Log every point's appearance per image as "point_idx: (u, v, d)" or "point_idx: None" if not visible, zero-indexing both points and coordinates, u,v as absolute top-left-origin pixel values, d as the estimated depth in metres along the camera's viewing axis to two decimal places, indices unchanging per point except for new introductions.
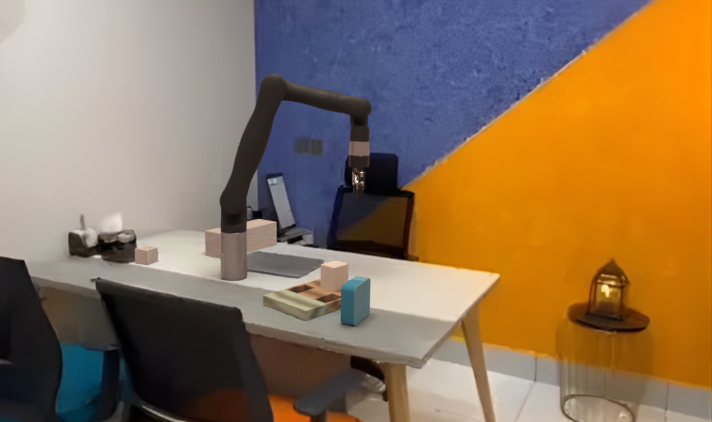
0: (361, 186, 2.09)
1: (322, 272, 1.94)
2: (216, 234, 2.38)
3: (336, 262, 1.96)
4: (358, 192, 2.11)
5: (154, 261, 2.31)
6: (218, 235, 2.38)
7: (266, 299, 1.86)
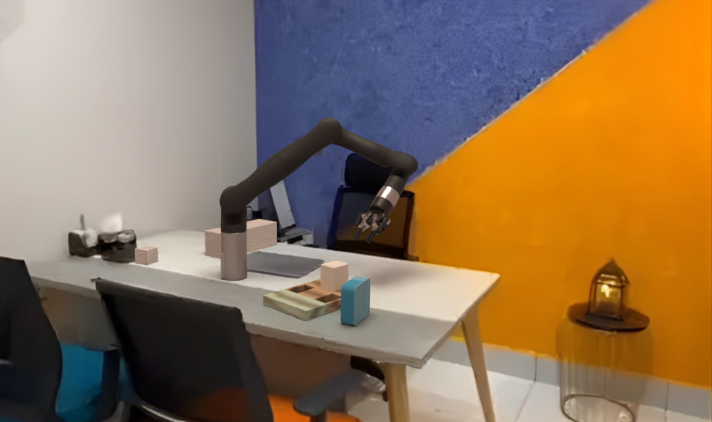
0: (380, 230, 2.01)
1: (322, 272, 1.94)
2: (216, 234, 2.38)
3: (336, 262, 1.96)
4: (371, 234, 2.01)
5: (154, 261, 2.31)
6: (218, 235, 2.38)
7: (266, 299, 1.86)
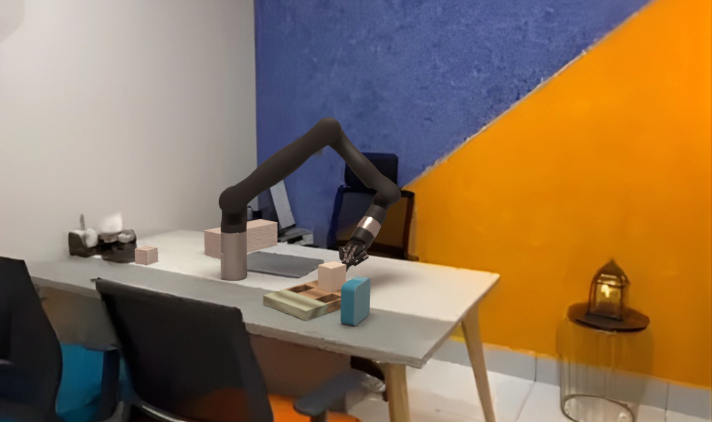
0: (355, 262, 1.97)
1: (319, 273, 1.93)
2: (214, 234, 2.39)
3: (333, 263, 1.95)
4: (346, 266, 1.97)
5: (154, 261, 2.31)
6: (216, 235, 2.38)
7: (266, 299, 1.86)
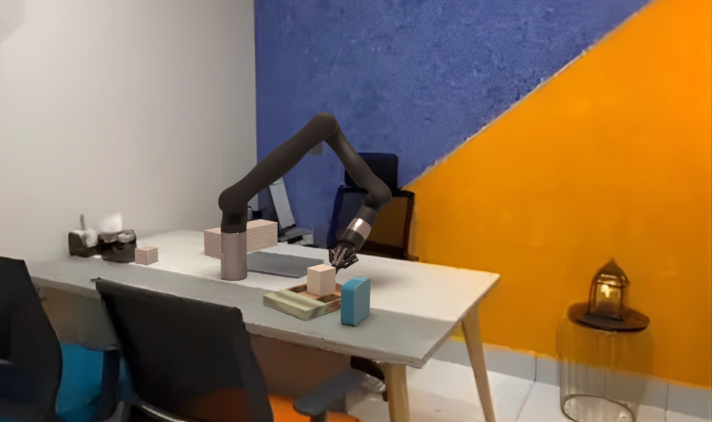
0: (344, 265, 1.94)
1: (308, 276, 1.89)
2: (214, 234, 2.39)
3: (323, 266, 1.92)
4: None
5: (154, 261, 2.31)
6: (216, 235, 2.38)
7: (266, 299, 1.86)
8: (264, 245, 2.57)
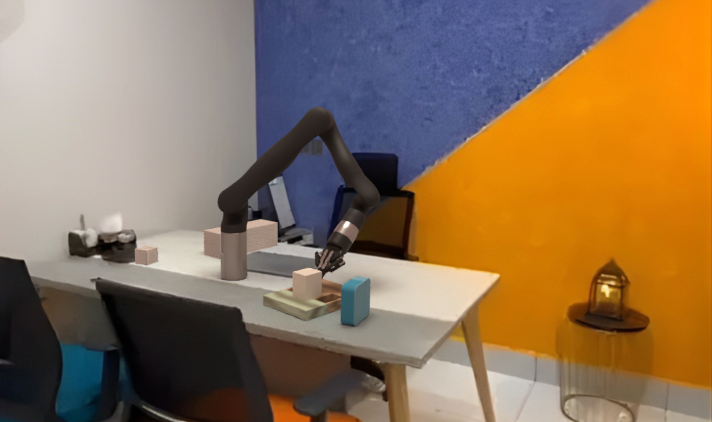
0: (331, 269, 1.89)
1: (294, 280, 1.85)
2: (214, 234, 2.39)
3: (309, 270, 1.87)
4: None
5: (154, 261, 2.31)
6: (216, 235, 2.38)
7: (266, 299, 1.86)
8: (264, 245, 2.57)
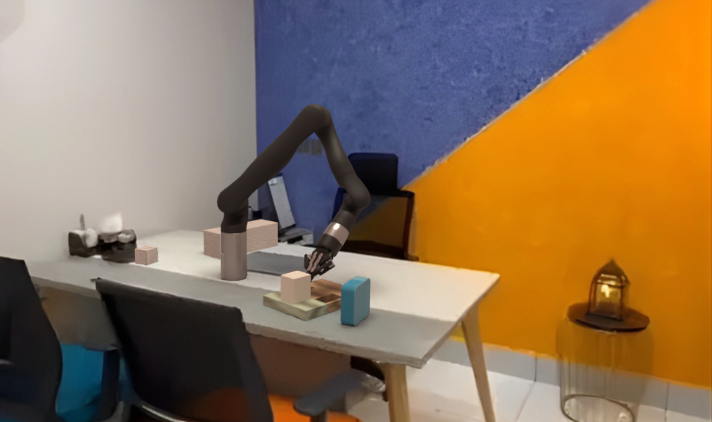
0: (320, 271, 1.85)
1: (282, 284, 1.81)
2: (213, 234, 2.39)
3: (297, 273, 1.84)
4: None
5: (154, 261, 2.31)
6: (215, 235, 2.38)
7: (266, 299, 1.86)
8: (264, 245, 2.57)
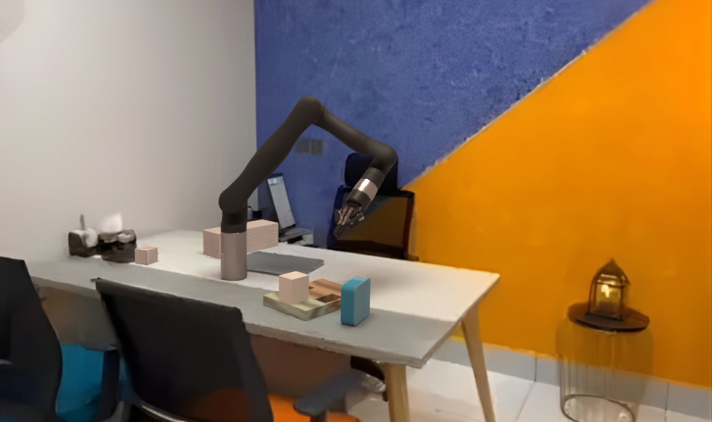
0: (350, 224, 1.93)
1: (280, 284, 1.81)
2: (212, 233, 2.39)
3: (296, 273, 1.83)
4: (341, 228, 1.93)
5: (154, 261, 2.31)
6: (214, 235, 2.38)
7: (266, 299, 1.86)
8: (264, 245, 2.56)
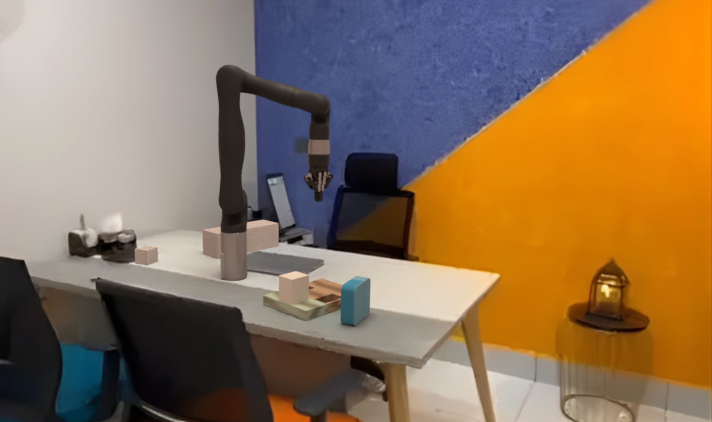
0: (312, 187, 2.05)
1: (280, 284, 1.81)
2: (211, 233, 2.39)
3: (296, 273, 1.83)
4: None
5: (154, 261, 2.31)
6: (213, 234, 2.39)
7: (266, 299, 1.86)
8: (264, 246, 2.56)
